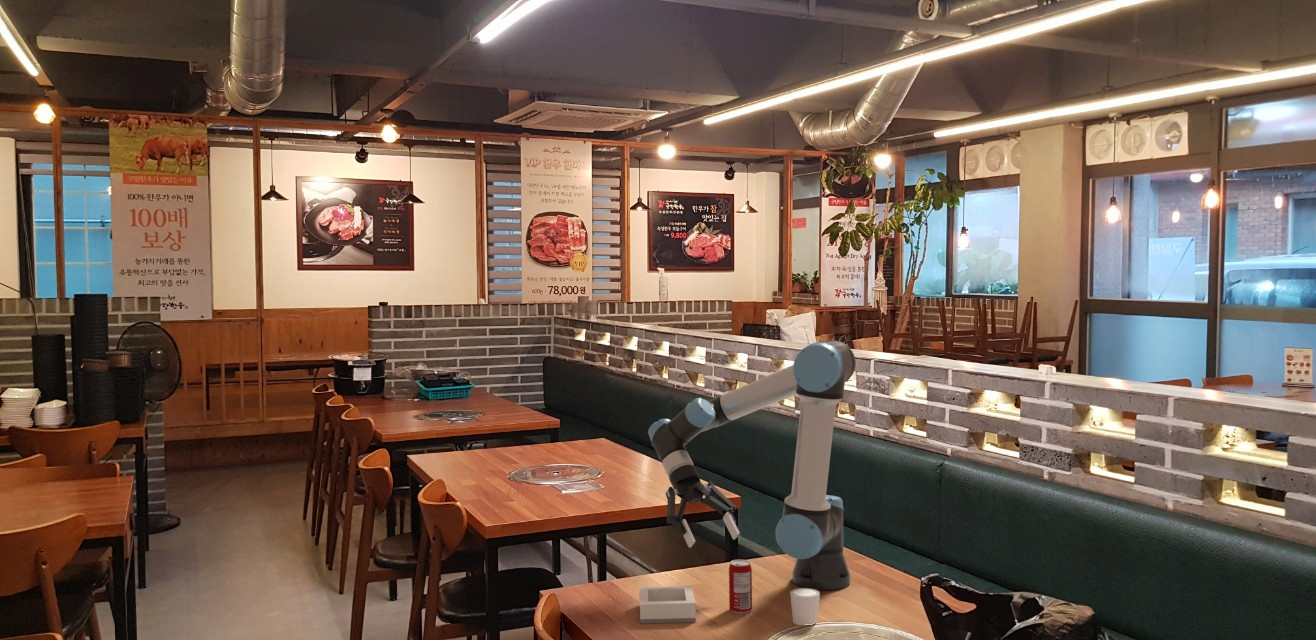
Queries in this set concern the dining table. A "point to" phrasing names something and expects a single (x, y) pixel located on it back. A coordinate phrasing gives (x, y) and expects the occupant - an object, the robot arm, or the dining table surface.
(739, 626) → the dining table surface
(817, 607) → the shot glass
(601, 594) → the dining table surface
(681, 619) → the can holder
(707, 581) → the dining table surface
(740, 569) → the soda can
